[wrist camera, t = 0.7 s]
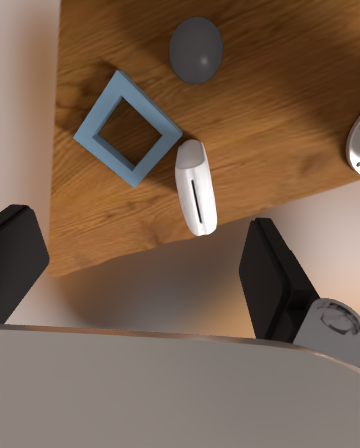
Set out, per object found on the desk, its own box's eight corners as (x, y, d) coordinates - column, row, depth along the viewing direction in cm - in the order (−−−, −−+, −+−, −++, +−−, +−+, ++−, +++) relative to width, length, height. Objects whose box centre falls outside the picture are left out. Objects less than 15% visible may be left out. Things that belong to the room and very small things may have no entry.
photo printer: (213, 197, 40) (221, 240, 29) (189, 201, 40) (188, 245, 30) (203, 135, 34) (209, 161, 24) (175, 142, 35) (168, 169, 25)
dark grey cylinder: (195, 17, 27) (196, 0, 21) (225, 56, 29) (234, 50, 23) (164, 59, 30) (157, 54, 24) (194, 92, 31) (195, 96, 26)
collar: (122, 70, 30) (117, 70, 28) (182, 131, 34) (182, 135, 32) (80, 134, 35) (72, 137, 33) (137, 182, 39) (134, 188, 37)
